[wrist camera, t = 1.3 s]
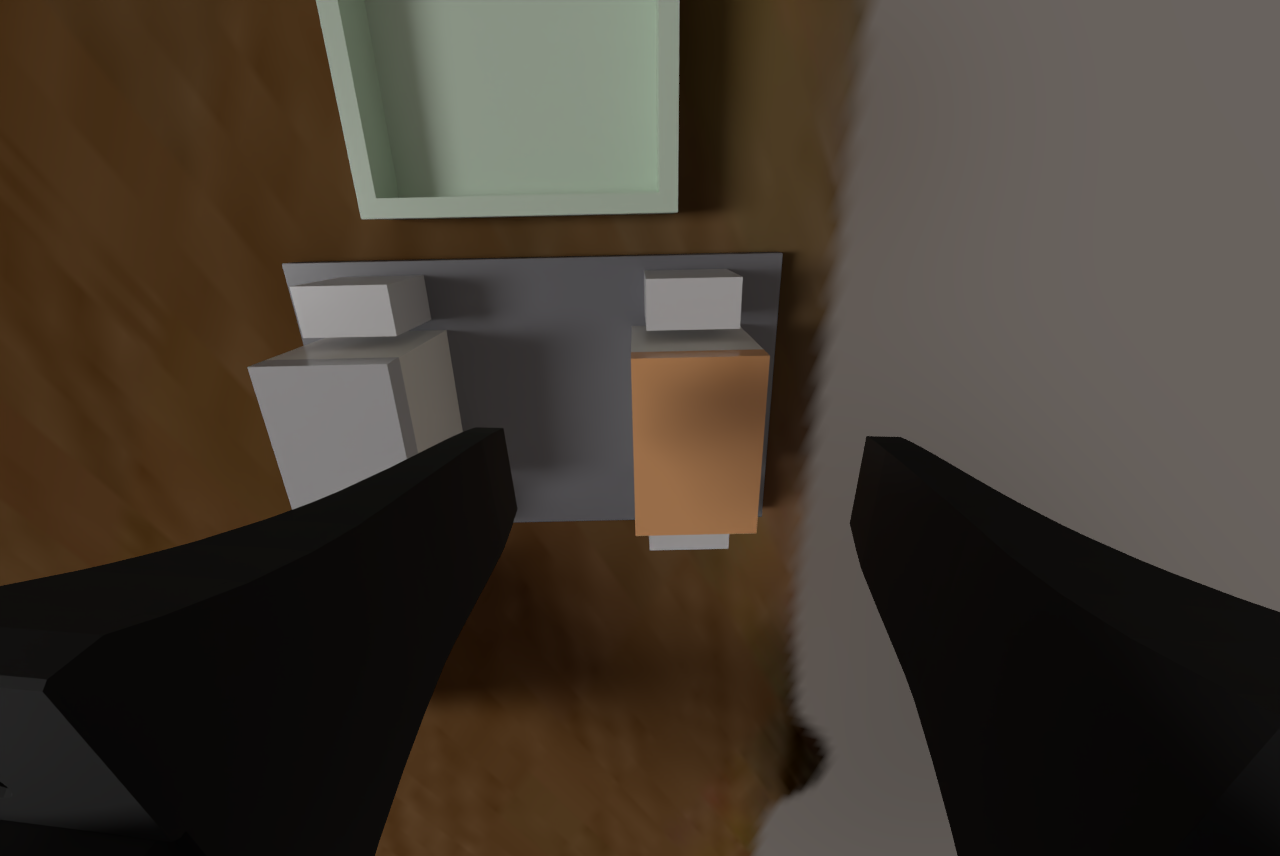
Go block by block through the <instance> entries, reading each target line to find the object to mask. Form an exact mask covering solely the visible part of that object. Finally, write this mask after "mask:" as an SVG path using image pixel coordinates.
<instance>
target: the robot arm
mask: <svg viewBox="0 0 1280 856" xmlns="http://www.w3.org/2000/svg"><path fill="white" fill-rule="evenodd" d="M516 512H517V503H516V497H515V491H514V486H513V480H512V474H511V468H510V463H509V457H508V451H507V445H506V439H505V434H504V428H484V427H475V428H472V429H469V430H466V431H464V432H461V433H459V434H457V435H455V436H452V437H450V438H448V439H446V440H444V441H442V442H440V443H438V444H436V445H434V446H432V447H430V448H428V449H426V450H424V451H422V452H420V453H418V454H416V455H414V456H412V457H410V458H408V459H406V460H404V461H402V462H400V463H398V464H396V465H394V466H392V467H390V468H388V469H386V470H384V471H381V472H379V473H377V474H375V475H373V476H371V477H368V478H366V479H364V480H362V481H360V482H358V483H356V484H353V485H351V486H349V487H347V488H345V489H343V490H340V491H338V492H336V493H333V494H331V495H329V496H326V497H324V498H321V499H319V500H316V501H314V502H312V503H309V504H306V505H304V506H301V507H298V508H296V509H293V510H290V511H288V512H285V513H282V514H280V515H277V516H274V517H271V518H268V519H266V520H263V521H259V522H256V523H253V524H250V525H247V526H243V527H240V528H237V529H234V530H231V531H228V532H224V533H221V534H218V535H215V536H212V537H208V538H205V539H202V540H199V541H195V542H192V543H188V544H185V545H181V546H177V547H173V548H170V549H166V550H162V551H159V552H155V553H151V554H147V555H143V556H139V557H135V558H131V559H126V560H122V561H118V562H114V563H110V564H106V565H101V566H97V567H92V568H88V569H83V570H79V571H74V572H69V573H64V574H59V575H54V576H49V577H44V578H39V579H34V580H29V581H24V582H19V583H14V584H9V585H4V586H0V856H375V853H376V850H377V847H378V844H379V840H380V837H381V834H382V832H383V829H384V826H385V823H386V820H387V817H388V814H389V811H390V808H391V805H392V802H393V799H394V796H395V793H396V791H397V788H398V785H399V782H400V779H401V776H402V773H403V770H404V767H405V765H406V762H407V759H408V757H409V754H410V751H411V749H412V746H413V743H414V741H415V738H416V735H417V733H418V730H419V727H420V724H421V722H422V719H423V716H424V714H425V711H426V709H427V706H428V704H429V701H430V699H431V696H432V694H433V691H434V689H435V686H436V684H437V681H438V679H439V676H440V674H441V672H442V669H443V667H444V664H445V662H446V660H447V658H448V656H449V654H450V651H451V649H452V647H453V645H454V643H455V641H456V639H457V637H458V635H459V633H460V632H461V630H462V628H463V626H464V624H465V622H466V620H467V618H468V616H469V615H470V613H471V611H472V609H473V607H474V605H475V603H476V601H477V600H478V598H479V596H480V594H481V592H482V590H483V588H484V586H485V584H486V583H487V581H488V579H489V577H490V575H491V573H492V571H493V569H494V567H495V565H496V563H497V561H498V559H499V557H500V555H501V553H502V551H503V549H504V547H505V544H506V541H507V539H508V536H509V533H510V531H511V528H512V525H513V522H514V518H515V515H516ZM850 526H851V530H852V534H853V538H854V543H855V547H856V551H857V555H858V558H859V562H860V566H861V569H862V572H863V574H864V577H865V579H866V581H867V584H868V586H869V589H870V592H871V594H872V597H873V599H874V601H875V604H876V606H877V609H878V611H879V613H880V616H881V618H882V621H883V623H884V625H885V628H886V630H887V633H888V635H889V638H890V640H891V642H892V645H893V647H894V649H895V652H896V654H897V657H898V659H899V662H900V664H901V666H902V669H903V671H904V673H905V676H906V679H907V682H908V684H909V687H910V690H911V693H912V695H913V698H914V701H915V704H916V708H917V711H918V714H919V718H920V720H921V724H922V727H923V731H924V734H925V738H926V741H927V744H928V748H929V751H930V755H931V758H932V761H933V765H934V769H935V772H936V776H937V779H938V783H939V787H940V790H941V794H942V798H943V801H944V805H945V809H946V813H947V816H948V820H949V823H950V827H951V831H952V835H953V839H954V843H955V847H956V851H957V855H958V856H1280V612H1278V611H1275V610H1272V609H1268V608H1266V607H1263V606H1260V605H1257V604H1254V603H1251V602H1248V601H1246V600H1243V599H1240V598H1237V597H1234V596H1232V595H1229V594H1226V593H1223V592H1221V591H1218V590H1216V589H1213V588H1210V587H1208V586H1205V585H1202V584H1200V583H1197V582H1194V581H1192V580H1189V579H1186V578H1184V577H1181V576H1178V575H1176V574H1173V573H1170V572H1168V571H1166V570H1163V569H1161V568H1158V567H1156V566H1153V565H1151V564H1148V563H1146V562H1143V561H1141V560H1139V559H1136V558H1134V557H1132V556H1129V555H1127V554H1125V553H1122V552H1120V551H1118V550H1116V549H1113V548H1111V547H1109V546H1106V545H1104V544H1102V543H1100V542H1097V541H1095V540H1093V539H1091V538H1089V537H1086V536H1084V535H1082V534H1080V533H1078V532H1076V531H1074V530H1071V529H1069V528H1067V527H1065V526H1063V525H1061V524H1059V523H1057V522H1055V521H1053V520H1051V519H1049V518H1047V517H1045V516H1043V515H1041V514H1040V513H1038V512H1036V511H1033V510H1032V509H1030V508H1028V507H1026V506H1024V505H1022V504H1020V503H1018V502H1016V501H1015V500H1013V499H1011V498H1009V497H1007V496H1005V495H1003V494H1002V493H1000V492H998V491H996V490H994V489H993V488H991V487H989V486H987V485H986V484H984V483H982V482H981V481H979V480H977V479H975V478H974V477H972V476H970V475H968V474H967V473H965V472H963V471H962V470H960V469H958V468H956V467H955V466H953V465H951V464H949V463H948V462H946V461H944V460H942V459H941V458H939V457H938V456H936V455H934V454H932V453H931V452H929V451H927V450H925V449H923V448H922V447H919V446H918V445H916V444H914V443H912V442H910V441H908V440H906V439H903V438H901V437H872V436H871V437H869V436H867V437H866V442H865V447H864V453H863V458H862V463H861V468H860V473H859V478H858V484H857V489H856V494H855V500H854V505H853V510H852V515H851V520H850Z"/></svg>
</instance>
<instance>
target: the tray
mask: <svg viewBox="0 0 1280 856" xmlns="http://www.w3.org/2000/svg"><path fill="white" fill-rule="evenodd" d="M316 3H317V8H318V12H319V17H320V22H321V27H322V32H323V37H324V42H325V46H326V51H327V56H328V61H329V66H330V71H331V75H332V80H333V85H334V90H335V95H336V100H337V104H338V109H339V114H340V119H341V124H342V129H343V133H344V138H345V143H346V148H347V153H348V158H349V162H350V167H351V172H352V177H353V182H354V187H355V191H356V196H357V201H358V206H359V211H360V216H361V219H391V220H394V219H441V218H487V217H534V216H581V215H628V214H673V213H678V141H679V4H680V0H316Z"/></svg>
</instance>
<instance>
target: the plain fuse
mask: <svg viewBox="0 0 1280 856" xmlns="http://www.w3.org/2000/svg"><path fill="white" fill-rule="evenodd" d="M247 368H248V371H249V374H250V377H251V380H252V383H253V387H254V390H255V393H256V396H257V399H258V402H259V406H260V409H261V412H262V415H263V418H264V421H265V425H266V428H267V431H268V434H269V437H270V440H271V444H272V447H273V450H274V453H275V456H276V460H277V463H278V466H279V469H280V472H281V475H282V479H283V482H284V485H285V488H286V491H287V494H288V498H289V501H290V504H291V507H292V510H293V509H296V508H298V507H301V506H304V505H306V504H309V503H312V502H314V501H316V500H319V499H321V498H324V497H326V496H329V495H331V494H333V493H336V492H338V491H340V490H343V489H345V488H347V487H349V486H351V485H353V484H356V483H358V482H360V481H362V480H364V479H366V478H368V477H371V476H373V475H375V474H377V473H379V472H381V471H384V470H386V469H388V468H390V467H392V466H394V465H396V464H398V463H400V462H402V461H404V460H406V459H408V458H410V457H412V456H414V455H416V454H418V453H420V452H422V451H424V450H426V449H428V448H430V447H432V446H434V445H436V444H438V443H440V442H442V441H444V440H446V439H448V438H450V437H452V436H455V435H457V434H459V433H461V432H463V430H462V424H461V418H460V411H459V405H458V399H457V393H456V387H455V380H454V374H453V368H452V362H451V356H450V349H449V343H448V337H447V331H446V330H424V331H407V332H404V333H402V334H400V335H398V336H382V337H336V338H324V339H321V340H319V341H316V342H313V343H310V344H308V345H305V346H302V347H300V348H297V349H294V350H292V351H289V352H286V353H284V354H281V355H278V356H276V357H273V358H270V359H268V360H265V361H262V362H260V363H257V364H254V365H252V366H249V367H247Z"/></svg>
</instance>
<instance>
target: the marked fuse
mask: <svg viewBox="0 0 1280 856" xmlns="http://www.w3.org/2000/svg"><path fill="white" fill-rule="evenodd" d="M769 362H770V355H769V354H768V353H767V352H766V351H765V350H764V349H763V348H762V347H761V346H760V345H759V344H758V343H757V342H756V341H755V340H754V339H753V338H752V337H751V336H749V335H748V334H747V333H746V332H745V331H744V330H743V329H742V328H741V327H740V329H704V330H658V331H646V326H632V334H631V383H632V420H633V457H634V494H635V531H636V536H658V535H703V534H747V533H756V532H757V519H758V506H759V493H760V480H761V467H762V454H763V441H764V428H765V415H766V401H767V388H768V375H769Z"/></svg>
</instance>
